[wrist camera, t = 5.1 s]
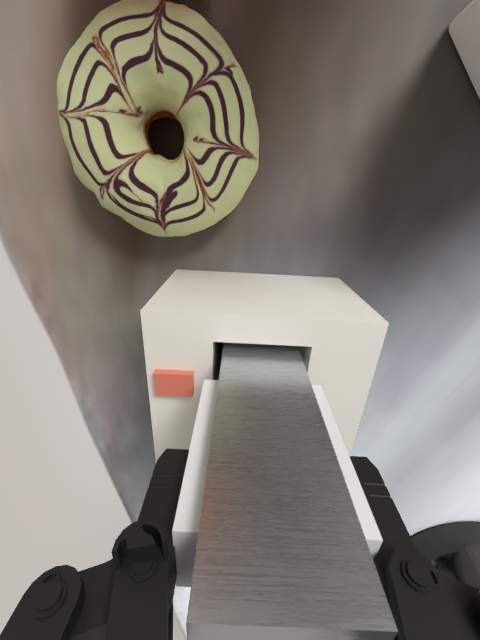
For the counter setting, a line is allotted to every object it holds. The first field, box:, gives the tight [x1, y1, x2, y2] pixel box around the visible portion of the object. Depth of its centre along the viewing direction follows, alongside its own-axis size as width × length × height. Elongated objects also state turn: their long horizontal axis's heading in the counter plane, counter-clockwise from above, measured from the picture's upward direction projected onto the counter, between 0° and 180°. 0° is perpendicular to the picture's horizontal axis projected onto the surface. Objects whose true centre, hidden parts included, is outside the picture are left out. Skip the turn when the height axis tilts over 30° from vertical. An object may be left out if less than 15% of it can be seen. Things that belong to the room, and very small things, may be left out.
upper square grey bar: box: [186, 342, 398, 640], centre depth 14 cm, size 4×4×18 cm
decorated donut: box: [57, 0, 259, 237], centre depth 16 cm, size 10×11×4 cm
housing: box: [140, 269, 389, 462], centre depth 21 cm, size 12×18×8 cm, turn 177°
